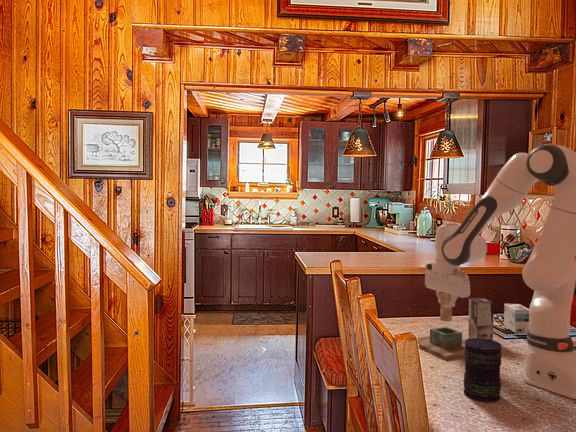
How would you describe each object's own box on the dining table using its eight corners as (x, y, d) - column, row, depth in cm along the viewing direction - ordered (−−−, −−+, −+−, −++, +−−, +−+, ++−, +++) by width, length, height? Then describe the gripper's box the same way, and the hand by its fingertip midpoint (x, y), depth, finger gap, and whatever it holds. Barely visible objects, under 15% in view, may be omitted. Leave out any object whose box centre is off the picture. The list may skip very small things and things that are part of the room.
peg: (454, 320, 175) (454, 293, 174) (445, 321, 173) (446, 294, 173) (446, 317, 178) (447, 291, 178) (437, 319, 177) (438, 292, 176)
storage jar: (470, 385, 143) (471, 335, 142) (504, 393, 137) (506, 342, 136) (458, 396, 135) (459, 344, 134) (494, 406, 129) (495, 351, 128)
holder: (484, 353, 171) (485, 335, 170) (445, 360, 164) (445, 341, 163) (445, 337, 189) (446, 321, 189) (408, 343, 182) (409, 326, 182)
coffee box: (493, 345, 180) (494, 302, 179) (476, 345, 180) (477, 302, 179) (484, 337, 189) (485, 297, 188) (467, 337, 189) (468, 297, 188)
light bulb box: (531, 336, 191) (532, 309, 190) (514, 336, 191) (515, 309, 190) (519, 328, 202) (519, 303, 201) (503, 328, 202) (503, 303, 201)
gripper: (475, 271, 167) (474, 310, 167) (435, 263, 185) (434, 298, 186) (461, 272, 164) (460, 312, 165) (422, 264, 183) (421, 299, 184)
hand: (446, 304), depth 176 cm, fingers closed on peg, 4 cm apart
